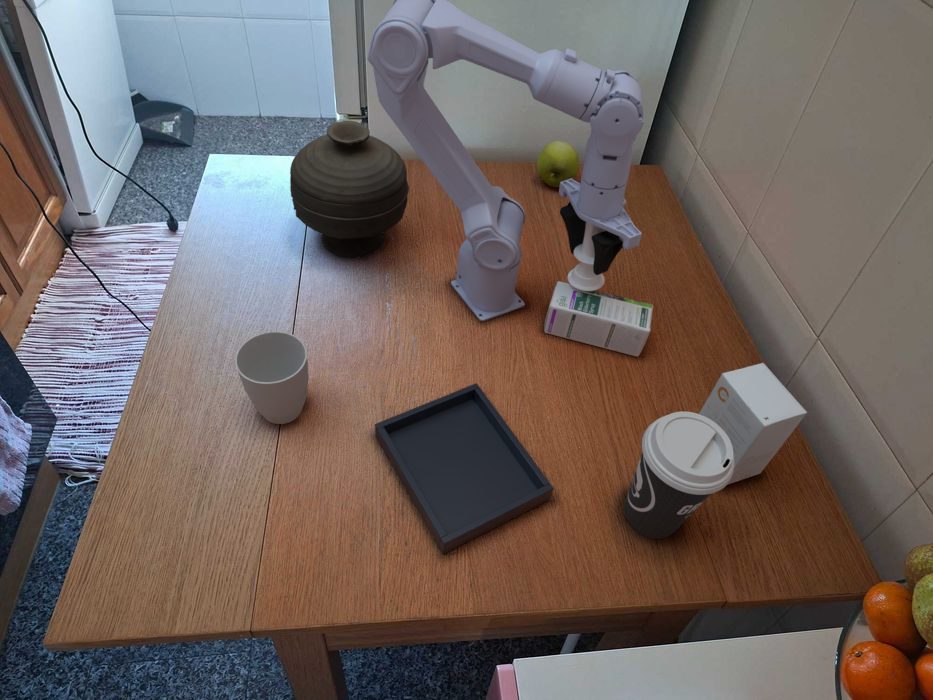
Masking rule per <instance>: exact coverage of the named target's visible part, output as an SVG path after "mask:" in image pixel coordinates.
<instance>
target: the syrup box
mask: <svg viewBox="0 0 933 700" xmlns="http://www.w3.org/2000/svg"><path fill="white" fill-rule="evenodd" d="M653 310H654V305H653V304H652V303H649V302H648V303H647V302H644V301H639V300H636V299H631V298H627V297H623V296H621V295H615V294H612V293H608V292H604V291H600V290H594V291H582V290H579V289H576V288H575V287H573V286H572V285H571V284H570V283H569V282H568V283H567V282H564V281H560V280H558V281H557V282H556V284H555V285H554V289H553V291H552V294H551V299H550V302H549V304H548V308H547V312H546V315H545V319H544V325H543V332H544V333H545V334H549V335H551V336H555V337H559V338H564V339H568V340H571V341H575V342H579V343H582V344H587V345H590V346H594V347H599V348H602V349H606V350H610V351H613V352H618V353H620V354H621V353H622V354H625V355H629V356H632V357H639V356H640V355H641V353H642V351H643V349H644V347H645V345H646V342H647V341H648V338H649V335H650V333H651V325H652V317H653Z"/></svg>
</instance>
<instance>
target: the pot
mask: <svg viewBox="0 0 933 700" xmlns="http://www.w3.org/2000/svg"><path fill="white" fill-rule="evenodd" d="M370 134H371V132H370V129H369V128H368V127H365V126H364V125H363V124H362V123H360V122H359V121H356V120H355V121H354V120H342V121H336V122H333V123H330V124H329V125H328V127H327V129H326V134H325V135H321V136H319V137H317V138H314V140H311V141H310V142H308V143H307V144H305V145H304V147H302V148H301V149H299V151H298V152H297V154H295V155H294V157H293V159H292V162H291V164H290V169H289V170H290V171H289V175H290V176H289V177H290V178H289V183H290V186H289V188H290V189H289V190H290V196H291V199H292V200H291V201H292V206H293V210H294V211H295V217H296V218H297V219H298V220H299V221H300V222H302V223H303V224H304V225H305V226H306V227H308V228H310V229H312V230H313V231H314V232H316V233H318V234H320V235H321V238H320V240H321V245H322V247H323V248H324V249H325V250H326V251H327V252H329V253H330V254H332V255H334V256H337V257H338V258H343V259H354V260H355V259H361V258H365V257H368V256H370V255H372V254H375V253H376V252H377V251H378V250H380V249H381V248H382V246H383V244H384V241H385V236H384V233H386V232H388V231H389V230H391V229H392V228H393V227H395V226H397V224H398V223H399V222H400V221H401V220H402V219H403V217H404V215H405V211H406V209H407V206H408V205H407V204H408V201H409V200H408V198H409V197H408V195H409V191H410V185H409V182H408V170H407V167H406V163H405V162H404V160H403V159H402V156H401V155H400V154H399V153H398V151H396V150H395V149H394V148H393V147H392V146H391V145H390V144H388V143H387V142H385V141H383V140H381V139H379V138H377V137H376V136H373V135H370Z"/></svg>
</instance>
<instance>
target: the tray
mask: <svg viewBox="0 0 933 700" xmlns="http://www.w3.org/2000/svg"><path fill="white" fill-rule="evenodd" d="M374 435H375V438H376V441H377V442H378V443H379V445H380V447H381V449H382V450H383V452H384V454H385V455H386V457H387V459H388V461H389V462H390V464H391V466H392V467H393V470H394V471H395V473H396V475H397V477H398V478H399V480H400V482H401V484H402V485H403V487H404V489H405V491H406V492H407V494H408V496H409V497H410V499H411V501H412V503H413V505H414V506H415V508H416V510H417V512H418V513H419V515H420V517H421V518H422V520H423V522H424V524H425V526H426V527H427V529H428V530H429V532H430V535H431V536H432V537H433V539H434V541H435V543H436V545H437V546H438V548H439V550H440V551H441V554H442V555H444V554H446V553H448V552H449V551H452V550H454V549H455V548H458V547H460V546H461V545H464V544H466V543H467V542H469V541H471V540H474V539H475V538H477V537H479V536H481V535H483V534H485V533H487V532H489V531H491V530H493V529H495V528H497V527H499V526H501V525H502V524H504V523H507V522H508V521H510V520H512V519H514V518H517V517H518V516H520V515H522V514H524V513H526V512H529V511H530V510H532V509H534V508H536V507H537V506H539V505H543V504H544V503H546V502H547V501H549V500H551V497H552V494H553V491H554V486H553V485H552V484H551V483H550V481H549V479H547V477H546V476H545V474H544V473H543V472H542V470H541V469H540V467H539V466H538V464H537V463H536V462H535V460H534V459H533V458H532V456H531V455H530V454H529V452H528V451H527V450H526V448H525V447H524V446H523V444H522V443H521V441H520V440H519V439H518V437H517V436H516V435H515V433H514V432H513V430H512V428H510V426H509V424H507V422H506V421H505V420H504V418H503V417H502V415H501V414H500V413H499V411H498V410H497V409H496V408H495V406H494V404H493V403H492V402H491V401H490V399H489V398H488V396H487V395H486V394H485V392H484V391H483V390H482V388H481V386H480V385H479V383H476V382H475V383H473V384H471V385H468V386H466V387H464V388H463V387H462V388H460V389H458V390H456V391H453V392H450V393H448V394H446V395H444V396H441V397H439V398H436V399H434V400H431V401H429V402H426V403H424V404H421V405H418V406H416V407H414V408H410V409H409V410H406V411H404V412H401V413H399V414H396V415H394V416H392V417H389V418H387V419H383V420H381V421H378V422H377V423H374Z"/></svg>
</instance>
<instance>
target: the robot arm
mask: <svg viewBox="0 0 933 700" xmlns="http://www.w3.org/2000/svg"><path fill="white" fill-rule="evenodd" d="M367 52H368V53H367V57H366V59H367V61H368V62H369V64H370V65H371V67H372V70H373V75H374V76H373V77H374V81H375V87H376V93H377V99H378V101H379V103H380V105H381V107H382V108H383V110H384V111H385V112H386V114H387V115H388V117H389V118H390V119H391V121H392V122H393V123H394V124H395V126H396V127H397V129H398V130H399V131H400V133H401V134H402V135H403V137H404V138H405V140H406V141H407V142H408V144H409V145H410V146H411V147H412V149H413V150H414V152H415V153H416V154H417V156H418V157H419V158H420V159H421V161H422V162H423V164H424V165H425V167H427V169H428V170H429V172H430V173H431V174H432V176H433V177H434V178H435V180H436V181H437V183H438V184H439V185H440V187H441V189H443V190H444V192H445V193H446V195H447V196H448V197H449V199H450V200H451V202H452V203H453V204H454V205H455V207H456V208H457V210H458V211H459V212H460V215H461V219H462V225H463V226H462V227H463V231H464V236H465V238H466V239H465V240H464V241H463V243H462V244H461V245H460V247H459V250H458V254H457V257H458V258H457V265H456V275H455V279H453V280H451V281H450V285H451V287H452V288H453V289H454V290H455V292H456V293H457V294H458V295H459V297H460V298H461V299H462V300H463V302H464V303H465V304H466V306H467V307H468V308H469V310H470V311H471V312H472V313H473V314H474V315H475V317H476V318H477V320H478V321H479V322H486V321H488V320H491V319H494V318H497V317H499V316H503V315H505V314H509V313H511V312H513V311H517V310H519V309H521V308H524V307H525V302H524V300H522V298H521V297H520V296H519V295H518V294H517V292H516V287H517V282H518V276H519V270H520V265H521V260H522V256H523V252H522V248H521V246H520V243H521V238H522V237H521V236H522V233H523V227H524V224H525V223H526V212H525V210H524V207H523V206H522V204H521V203H520V202H518V201H517V200H515V199H514V198H512V197H510V196H509V195H508V194H507V193H506V192H505V191H504V189H503V187H501V186H497V185H495V186H494V185H492V184H491V183H490V182H489V180H488V179H487V178H486V176H485V174H484V173H483V171H482V170H481V169H480V167H479V166H478V164H477V163H476V162H475V160H474V158H473V157H472V155H471V154H470V153H469V151H468V150H467V148H466V147H465V146H464V144H463V143H462V141H461V140H460V138H459V137H458V135H457V134H456V133H455V131H454V130H453V128H452V127H451V125H450V123H449V122H448V120H447V119H446V118H445V116H444V115H443V113H442V112H441V110H440V109H439V108H438V105H436V103H435V102H434V100H433V99H432V98H431V96H430V94H429V93H428V92H427V90H426V89H425V82H426V81H425V80H426V75H427V71H428V66H429V59H432V70H437V69H440V68H443V67H445V66H447V65H450V64H453V63H455V62H457V61H458V62H459V61H460V60H463V61H467V62H469V63H472V64H474V65H477V66H480V67H482V68H485V69H487V70H490V71H492V72H495V73H497V74H500V75H503V76H505V77H508V78H511V79H512V80H513V79H514V80H516V81H518V82H521V83H524V84H525V85H527V87H528V89H529V90H530V93H531V96H532V98H533V100H535V101H537V102H539V103H542V104H544V105H546V106H548V107H551V108H552V109H555V110H557V111H560V112H561V113H564V114H566V115H568V116H570V117H572V118H574V119H577V120H579V121H581V122H583V123H589V125H590V134H589V137H588V138H587V141H586V146H585V154H584V158H583V159H584V160H583V165H582V170H581V171H582V172H581V178H580V182H578V181H576V180H575V179H572V178H571V179H568V180H565V181H562V182H560V187H558V188H559V189H558V195H559V196H560V197H562V198H566V197H567V199H568V200H569V201H568V203H567V205H564V206H561V208H560V210H559V215H560V216H561V218H562V220H563V223H564V225H565V228H566V229H565V230H566V232H567V239H568V245H569V250H570V253H571V254H572V255H573V256H574V249H575V248H576V247H577V246H578V245H580V244H583V240H584V234H585V228H586V222H588V223H590V224H592V225H595V226H597V227H599V228H601V229H604V230H605V231H604V232H600V233H598V234H595V235H593V236H592V238H591V239H592V241H593V244H594V251H595V257H594V265H593V271H594V273H595V274H596V275H599V274H603V273H607V272H608V271H609V269H610V267H611V265H612V264H613V261H614V260H615V259H616V257H617V255H618V254H619V252H621V250H622V249H623V248H624V249H626V250H627V251H628V250H631V249H634V248H636V247H638V246H640V243H641V239H642V235H643V233H642V232H641V231H640V230H639V229H638V228H637V227H636V225H635V224H634V223H633V221H632V219H631V218H630V215H629V214H628V212H627V211H626V209H625V208H624V207H626V205H627V200H626V199H625V194H626V189H627V186H628V180H629V176H630V170H631V166H632V161H633V157H634V152H635V141H636V139H637V136H638V135H639V133H640V132H641V131H642V129H643V128H644V124H645V121H644V93H643V88H642V86H641V83H640V82H639V80H638V79H637V78H636V77H635V76H633V75H631V74H630V73H629V72H628V71H627V70H619V69H618V70H612V69H609V68H607V70H606V71H605V70H603V69H600V68H599V67H597V66H594V65H592V64H590V63H588V62H585V61H584V60H581V59H579V58H577V57H578V52H577V51H576V50H573V49H571V48H568V47H567V48H566V50H565V51H562V50H560V49H558V48H553V49H550V50H547V51H543V52H537V51H535V50H533V49H531V48H529V46H528V47H527V46H526V45H524V44H522V43H520V42H518V41H517V40H515V39H513V38H511V37H509V36H508V35H505V34H504V33H502V32H500V31H498V30H496V29H494V28H492V27H490V26H489V25H487V24H485V23H483V22H482V21H479V20H477V19H476V18H474V17H472V16H470V15H468V14H466V13H465V12H464V11H462V10H460V8H458V7H457V6H456V5H454V4H453V3H451V2H450V1H449V0H394V1H393V3H392V6H391V7H390V9H389V11H388V12H387V14H386V15H385V16H384V18H383V19H382V20H381V21H380V22H379V23H378V25H377V26H376V27H375V29H374V30H373V32H372V36H371V40H370V44H369V49H368V51H367Z"/></svg>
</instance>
